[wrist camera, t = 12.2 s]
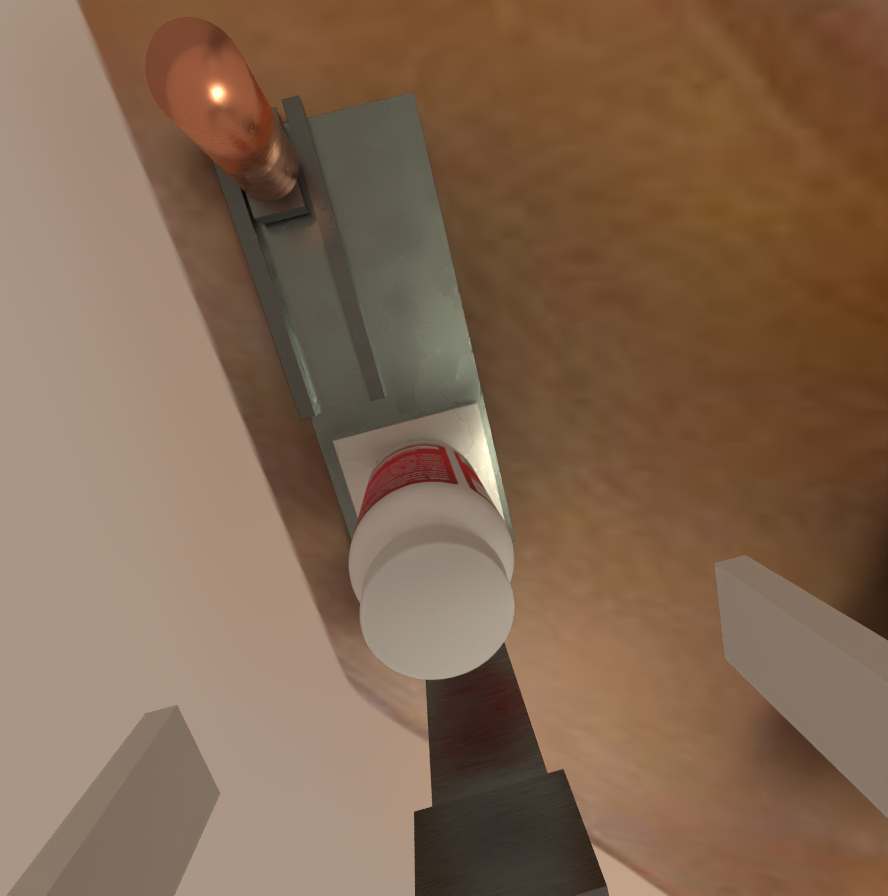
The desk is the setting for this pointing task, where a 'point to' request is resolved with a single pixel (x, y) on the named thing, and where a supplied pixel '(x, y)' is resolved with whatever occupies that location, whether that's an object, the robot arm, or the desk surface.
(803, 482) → the desk surface
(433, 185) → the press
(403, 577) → the pill bottle
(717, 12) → the desk surface
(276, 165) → the lever
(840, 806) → the desk surface
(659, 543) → the desk surface
